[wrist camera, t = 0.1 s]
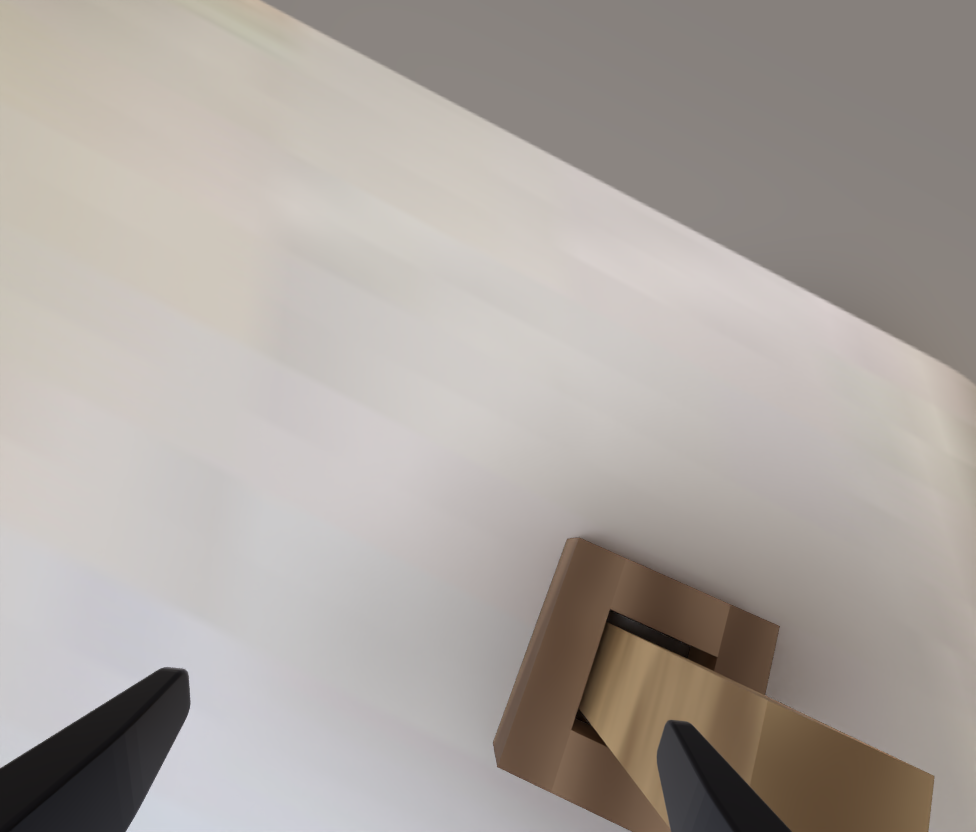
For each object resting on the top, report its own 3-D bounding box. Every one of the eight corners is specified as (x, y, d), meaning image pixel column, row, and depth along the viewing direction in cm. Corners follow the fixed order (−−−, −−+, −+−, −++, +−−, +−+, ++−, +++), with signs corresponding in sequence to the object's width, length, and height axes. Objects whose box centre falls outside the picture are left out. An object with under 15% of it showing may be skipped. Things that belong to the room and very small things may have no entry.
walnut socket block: (747, 618, 24) (779, 626, 21) (695, 838, 21) (726, 876, 18) (567, 538, 24) (579, 537, 22) (492, 742, 21) (497, 767, 19)
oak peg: (675, 653, 23) (934, 776, 10) (652, 738, 22) (910, 991, 9) (601, 619, 23) (768, 700, 11) (574, 702, 22) (725, 901, 10)
